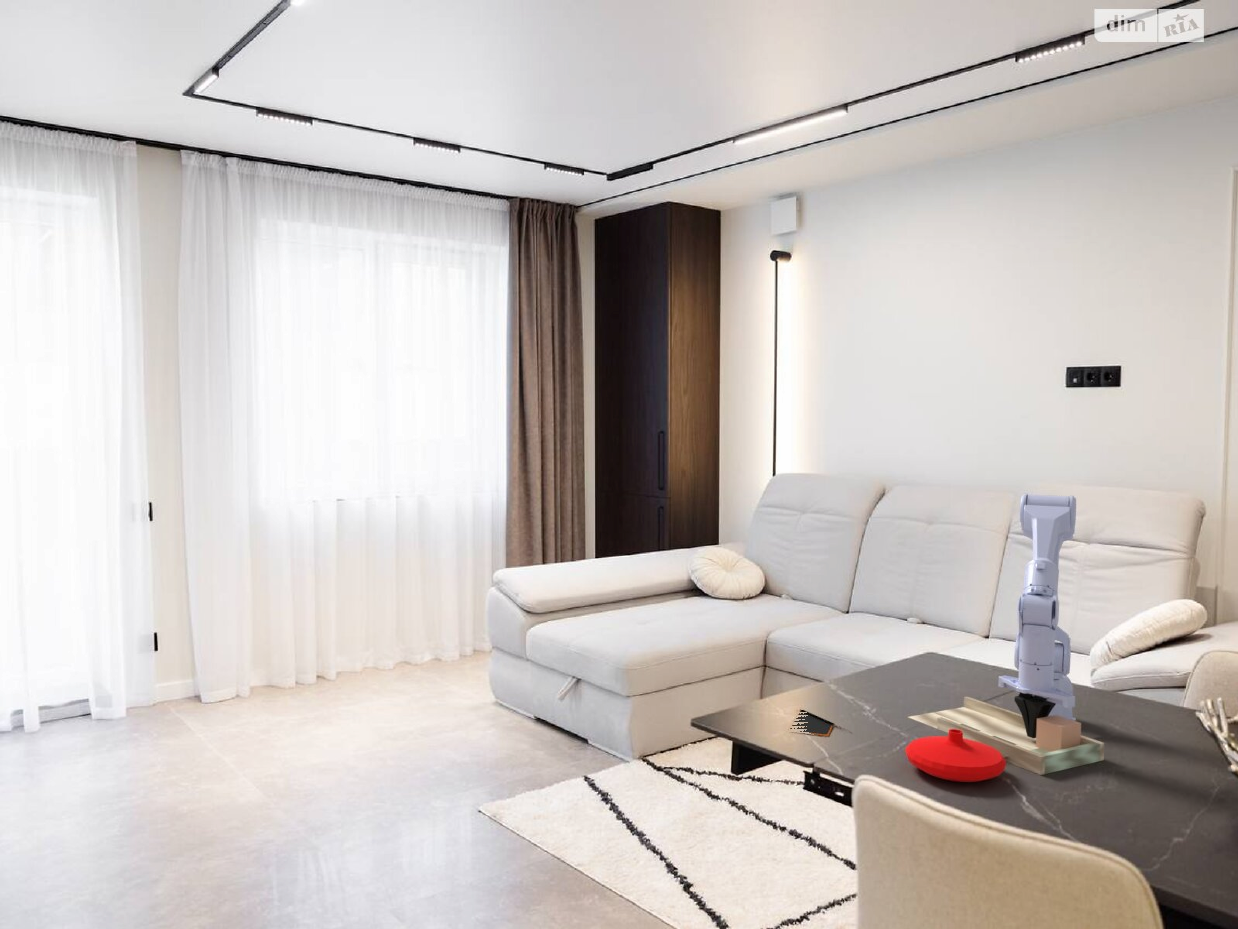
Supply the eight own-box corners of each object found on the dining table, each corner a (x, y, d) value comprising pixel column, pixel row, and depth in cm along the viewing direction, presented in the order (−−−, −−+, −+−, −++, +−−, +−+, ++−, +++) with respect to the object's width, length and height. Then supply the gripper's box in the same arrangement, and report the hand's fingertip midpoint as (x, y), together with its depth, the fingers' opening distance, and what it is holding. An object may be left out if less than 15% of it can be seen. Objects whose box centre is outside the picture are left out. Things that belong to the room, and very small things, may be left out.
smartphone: (787, 734, 175) (787, 729, 175) (802, 709, 190) (802, 704, 190) (828, 739, 172) (828, 734, 172) (840, 713, 188) (840, 709, 188)
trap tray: (967, 711, 189) (967, 696, 189) (1103, 760, 162) (1104, 743, 162) (907, 722, 181) (907, 706, 181) (1040, 775, 155) (1040, 757, 155)
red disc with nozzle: (996, 800, 145) (997, 755, 144) (893, 778, 153) (894, 735, 153) (1013, 768, 158) (1014, 727, 158) (918, 750, 166) (919, 710, 166)
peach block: (1055, 742, 168) (1056, 715, 168) (1080, 751, 163) (1081, 723, 163) (1035, 746, 166) (1036, 718, 165) (1060, 755, 161) (1061, 727, 161)
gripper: (987, 654, 173) (985, 727, 173) (1056, 674, 160) (1054, 753, 160) (1014, 650, 176) (1012, 722, 176) (1084, 669, 163) (1081, 746, 164)
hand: (1033, 736), depth 169 cm, fingers closed
